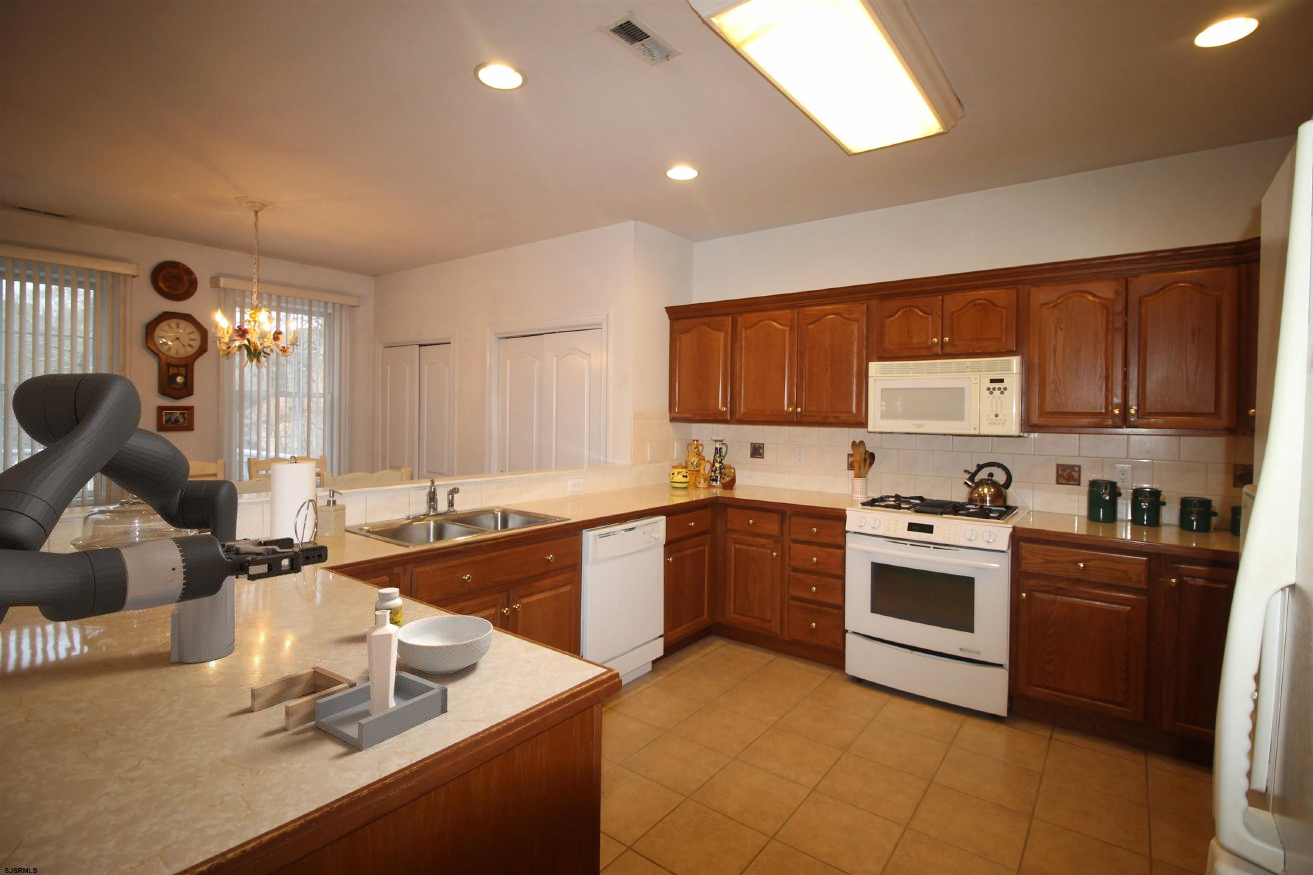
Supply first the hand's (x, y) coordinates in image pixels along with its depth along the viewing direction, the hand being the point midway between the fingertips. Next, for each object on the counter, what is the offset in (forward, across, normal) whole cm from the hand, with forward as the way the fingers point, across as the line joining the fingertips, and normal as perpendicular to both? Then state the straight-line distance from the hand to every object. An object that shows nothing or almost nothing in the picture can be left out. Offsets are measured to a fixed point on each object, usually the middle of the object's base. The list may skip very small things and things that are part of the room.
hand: (308, 548), depth 85 cm
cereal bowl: (+30, +8, +28) cm, 41 cm away
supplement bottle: (+34, +31, +28) cm, 53 cm away
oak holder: (+6, +13, +28) cm, 31 cm away
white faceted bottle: (+11, 0, +26) cm, 29 cm away
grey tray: (+11, -1, +28) cm, 30 cm away
